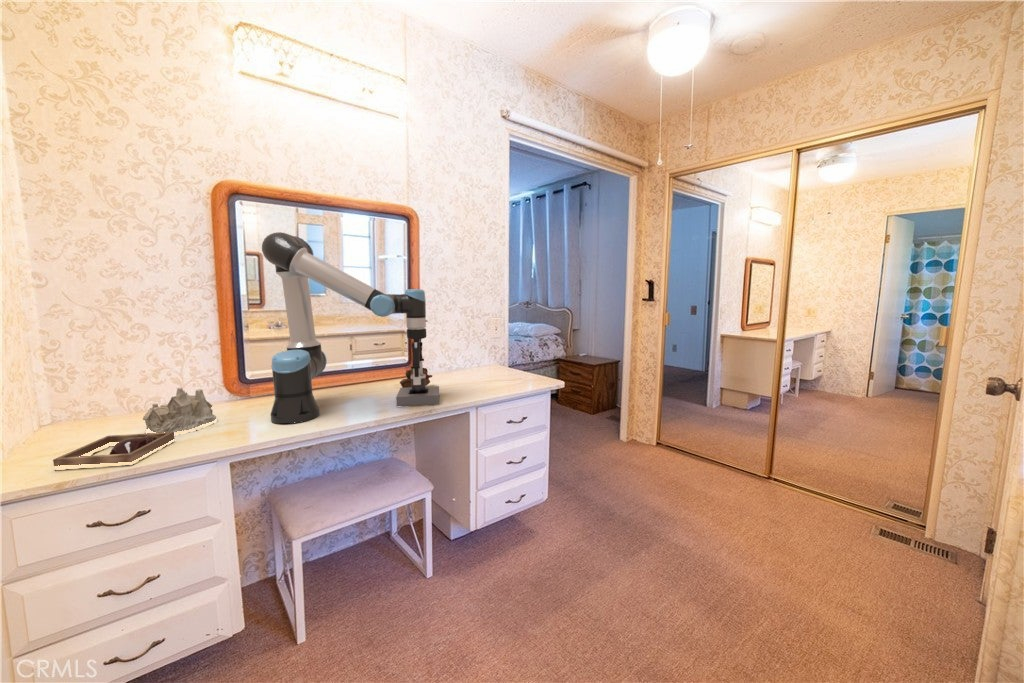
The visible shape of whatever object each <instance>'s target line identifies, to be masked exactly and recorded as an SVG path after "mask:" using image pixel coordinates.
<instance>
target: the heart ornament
mask: <svg viewBox="0 0 1024 683" xmlns="http://www.w3.org/2000/svg"><path fill="white" fill-rule="evenodd" d="M156 439H157V438H156V437H153V436H146V437H138V438H130V439H125V440H123V441H120V442H119V443H117V444H116V445H115V446H112V448H111V450H110V452H109V454H108V455H112V454H128V453H131V452H133V451H135V450H137V449H139V448H141V447H143V446H145V445H146V444H148V443H150V442H152V441H154V440H156Z"/></svg>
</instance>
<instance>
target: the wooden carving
mask: <svg viewBox="0 0 1024 683" xmlns="http://www.w3.org/2000/svg"><path fill="white" fill-rule="evenodd" d="M428 371H429V370H428V369H427V368H426V367H423V374H425V375H426V378H425V386H426V387H428V385H429V384H430V383H431V380H430V378H432V377H433V375H432V374H428V373H429V372H428ZM412 374H413V369H411V368H410V369H407V370H406V371H405V376H406V378H403V379H400V381H399V384H400V386H401V388H408V387H412V385H411V375H412Z"/></svg>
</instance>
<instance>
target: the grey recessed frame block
mask: <svg viewBox="0 0 1024 683" xmlns="http://www.w3.org/2000/svg"><path fill="white" fill-rule="evenodd" d="M395 396H396V397H395V398H396V407H397V406H409V407H419V406H418V405H428V406H438V405H437V404H439V405H440V386H439V385H438V386H437V385H436V386H433V385H432V386H431V385H430V386H426V393H425V394H412V387H408V388H402V387H400V388H399V390H398V392H397V394H396V395H395Z"/></svg>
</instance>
